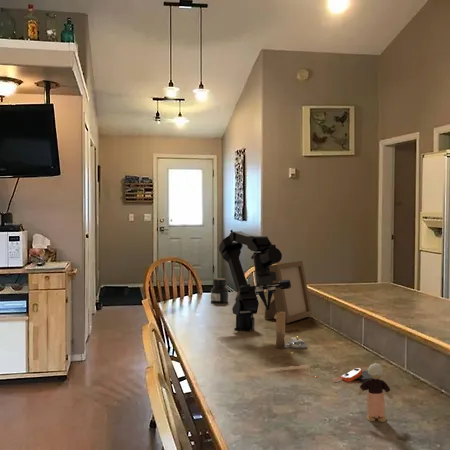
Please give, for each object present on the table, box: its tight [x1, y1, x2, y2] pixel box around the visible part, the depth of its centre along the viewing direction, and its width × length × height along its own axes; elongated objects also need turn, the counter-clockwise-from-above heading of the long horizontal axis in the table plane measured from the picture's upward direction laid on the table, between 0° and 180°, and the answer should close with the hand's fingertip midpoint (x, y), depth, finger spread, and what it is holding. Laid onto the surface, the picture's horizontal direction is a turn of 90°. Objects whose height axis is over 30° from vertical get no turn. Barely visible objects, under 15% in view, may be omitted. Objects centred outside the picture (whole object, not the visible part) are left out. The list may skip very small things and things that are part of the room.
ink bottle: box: [210, 277, 229, 304], centre depth 272 cm, size 10×9×12 cm
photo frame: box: [264, 260, 313, 324], centre depth 230 cm, size 15×22×25 cm
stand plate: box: [290, 335, 305, 355], centre depth 181 cm, size 20×15×2 cm
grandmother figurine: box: [356, 362, 394, 423], centre depth 119 cm, size 8×4×13 cm, turn 92°
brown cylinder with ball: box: [275, 311, 308, 349], centre depth 179 cm, size 6×11×12 cm, turn 109°
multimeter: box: [314, 367, 372, 384], centre depth 146 cm, size 18×12×3 cm, turn 91°
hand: (268, 310), depth 192 cm, fingers closed
